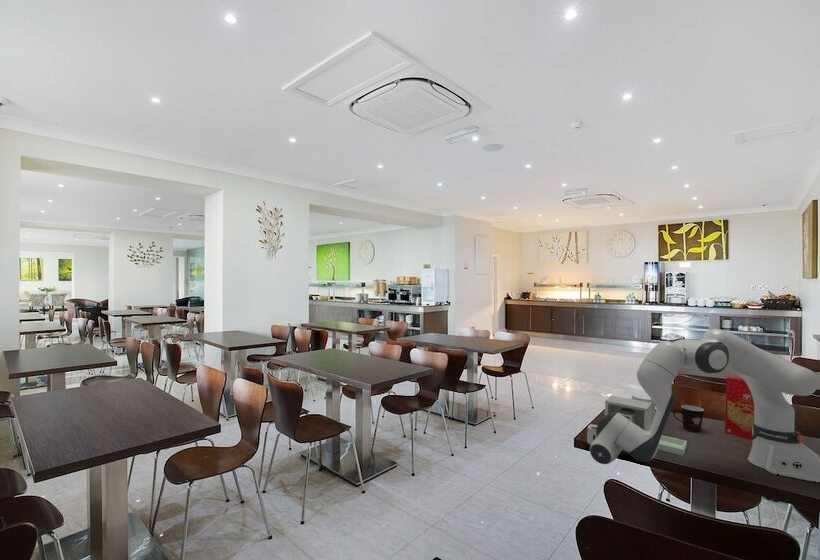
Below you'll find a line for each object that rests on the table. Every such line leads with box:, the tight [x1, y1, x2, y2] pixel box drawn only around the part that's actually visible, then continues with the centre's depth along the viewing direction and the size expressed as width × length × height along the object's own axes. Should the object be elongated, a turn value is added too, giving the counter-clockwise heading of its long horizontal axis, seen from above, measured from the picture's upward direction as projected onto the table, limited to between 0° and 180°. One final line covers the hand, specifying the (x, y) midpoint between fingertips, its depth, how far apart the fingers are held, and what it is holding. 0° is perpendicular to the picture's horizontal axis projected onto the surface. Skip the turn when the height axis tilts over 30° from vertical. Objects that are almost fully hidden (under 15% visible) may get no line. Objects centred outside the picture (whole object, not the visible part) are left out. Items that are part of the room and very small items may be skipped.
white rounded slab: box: [631, 393, 656, 421], centre depth 185 cm, size 10×10×15 cm
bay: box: [604, 395, 652, 431], centre depth 174 cm, size 16×11×15 cm
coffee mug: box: [673, 404, 705, 434], centre depth 185 cm, size 12×9×10 cm
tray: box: [658, 434, 688, 457], centre depth 163 cm, size 12×12×2 cm
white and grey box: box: [619, 408, 635, 424], centre depth 171 cm, size 5×8×12 cm, turn 140°
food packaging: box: [724, 375, 754, 441], centre depth 177 cm, size 15×5×25 cm, turn 41°
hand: (620, 430), depth 163 cm, fingers open, 8 cm apart
